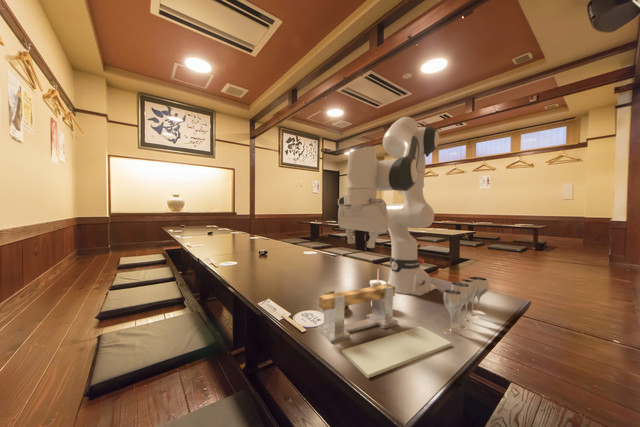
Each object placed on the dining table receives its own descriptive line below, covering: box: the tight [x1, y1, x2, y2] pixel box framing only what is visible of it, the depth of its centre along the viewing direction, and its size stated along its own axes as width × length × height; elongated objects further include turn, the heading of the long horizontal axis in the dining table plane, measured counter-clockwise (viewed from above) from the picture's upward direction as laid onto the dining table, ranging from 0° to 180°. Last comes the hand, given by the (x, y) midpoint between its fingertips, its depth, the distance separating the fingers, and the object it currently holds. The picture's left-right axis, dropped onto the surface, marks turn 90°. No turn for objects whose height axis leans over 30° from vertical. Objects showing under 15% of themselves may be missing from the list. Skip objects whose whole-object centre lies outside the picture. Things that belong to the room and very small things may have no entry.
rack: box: [317, 282, 399, 344], centre depth 73 cm, size 24×8×12 cm, turn 118°
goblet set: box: [442, 276, 490, 337], centre depth 79 cm, size 28×6×13 cm, turn 130°
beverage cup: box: [369, 268, 387, 307], centre depth 89 cm, size 6×6×14 cm
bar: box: [318, 283, 396, 311], centre depth 73 cm, size 26×3×3 cm, turn 118°
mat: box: [341, 326, 453, 379], centre depth 62 cm, size 28×10×1 cm, turn 118°
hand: (360, 245), depth 73 cm, fingers open, 8 cm apart
